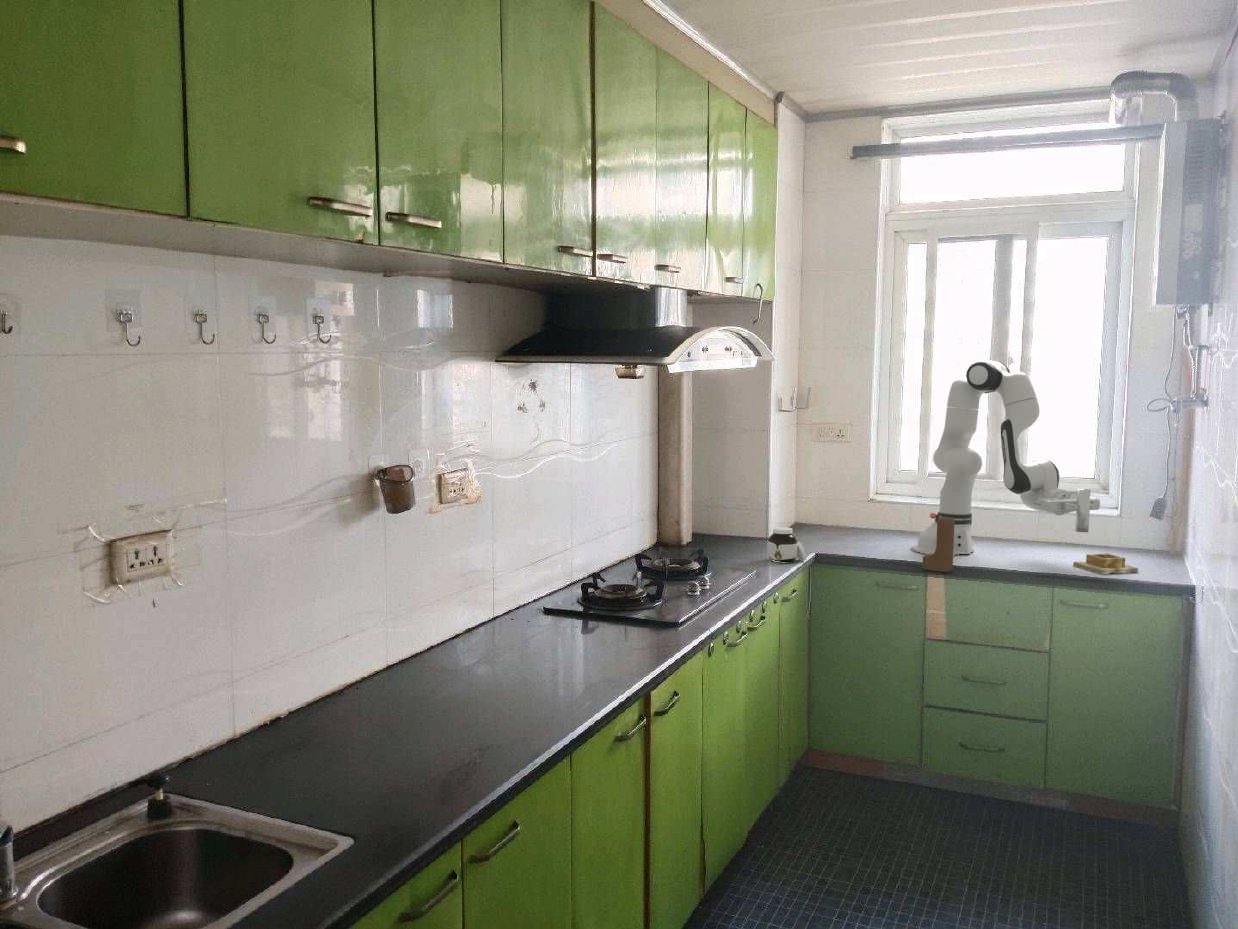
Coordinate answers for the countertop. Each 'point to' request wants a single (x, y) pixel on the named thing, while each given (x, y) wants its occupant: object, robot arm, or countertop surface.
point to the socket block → (1105, 564)
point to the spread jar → (784, 546)
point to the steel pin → (1083, 510)
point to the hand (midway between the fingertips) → (1084, 507)
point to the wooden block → (942, 547)
